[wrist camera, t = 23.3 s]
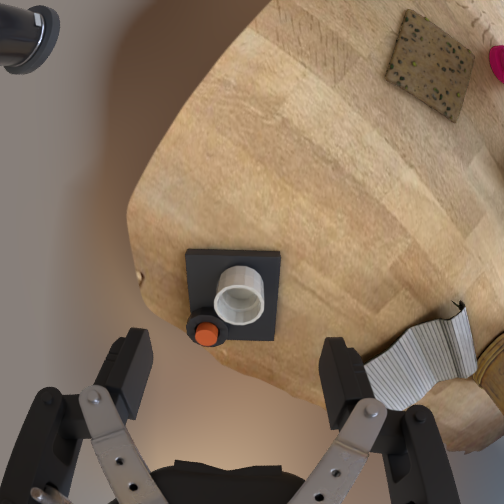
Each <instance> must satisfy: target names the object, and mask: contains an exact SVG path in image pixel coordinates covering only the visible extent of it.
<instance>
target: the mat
mask: <svg viewBox="0 0 504 504" xmlns="http://www.w3.org/2000/svg"><path fill="white" fill-rule="evenodd" d="M452 302H453V301H452ZM453 303H454V302H453ZM454 304H455V305H456V306H457V307H458V308H459V310H461V311H460V312H459V313H458V314H456V315H455V316H453V317H452V318H450V319H441V318H440V319H435V320H431V321H427V322H423V323H420V324H417V325H415V326H413V327H411V328H409V329H407V330H405V331H404V333H403V334H402V335H401V336H400V337H399V338H398V339H397V340H396V341H395V342H394V343H393V344H392V345H391V346H390V347H389V348H388V349H387V350H385V351H384V352H382V353H380V354H378V355H377V356H375V357H373V358H372V359H370V360H369V361H367V362H366V363H364V364H363V366H364V367H365V370H366V373H367V376H368V378H369V381H370V384H371V387H372V390H373V393H374V396H375V398H376V399H377V400H379V401H381V402H382V403H383V404H384V405H385V407H386V408H387V409H391V410H398V411H402V410H404V409H405V408H407V407H409V406H410V405H412V404H414V403H415V402H417V401H419V400H420V399H421V398H422V397H423V396H424V395H425V394H426V393H427V392H428V391H429V390H430V389H431V388H432V387H433V386H434V385H435V384H436V383H437V382H439V381H444V380H448V379H453V378H456V377H459V378H468V377H470V376H471V375H472V374H473V373H475V372H476V370H477V360H476V354H475V349H474V344H473V339H472V334H471V329H470V325H469V321H468V316H467V312H466V307H465V304H464V303H463V302H462V301H461V300H460V301H459V305H457V304H456V303H454Z"/></svg>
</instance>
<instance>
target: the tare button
mask: <svg viewBox="0 0 504 504" xmlns="http://www.w3.org/2000/svg"><path fill="white" fill-rule="evenodd" d="M217 336H218V328H217V327H216V326H215V325H214V324H212V323H210V322H203V323H200V324H199V325H198V327H197V330H196V334H195V339H196V341H197V342H198V343H199V344H201V345H204V346H211V345H214V344H215V343H216V341H217Z"/></svg>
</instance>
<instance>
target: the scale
mask: <svg viewBox="0 0 504 504" xmlns="http://www.w3.org/2000/svg"><path fill="white" fill-rule="evenodd" d="M185 259H186V271H187V282H188V292H189V301H190V311H191V315H190V316H189V318H188V321H187V325H186V330H187V335H188V336H189V337H190V338H191V340H193V342H195V343H197V344H199V343H198V342H197V341H196V339H195V334H196V330H197V327H198V325H199V324H200V323H203V322H210V323H212V324H214V325H215V326H216V327H217V328H218V336H217V341H216V343H215V344H214V345H211V346H205V347H215V346H218V345H221V344H223V343H224V342H225V341H226V340H250V341H274V334H275V323H276V312H277V300H278V288H279V276H280V263H281V255H280V251H251V250H214V249H187V252H186V254H185ZM234 266H247V267H249V268H252V269H254V270H255V271H256V272H257V273H259V274H260V276H261V278H262V280H263V283H264V311H263V313H262V314H261V316H260V317H259V318H258V319H257V320H256V321H254V322H252V323H250V324H246V325H233V324H230V323H228V322H225V321H224V320H223V319H221V318H220V317H219V316H218V315H217V313H216V311H215V309H214V298H215V293H216V289H217V284H218V280H219V278H220V276H221V274H222V273H223V272H224V271H225V270H227V269H228V268H231V267H234ZM199 345H201V344H199ZM201 346H204V345H201Z"/></svg>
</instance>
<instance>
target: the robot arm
mask: <svg viewBox="0 0 504 504" xmlns="http://www.w3.org/2000/svg"><path fill="white" fill-rule="evenodd" d="M45 33H46V20H45V17H44V16H43V15H42V14H41V13H38V12H34V11H33V12H32V11H29V10H25V9H22V8H18V7H14V6H10V5H5V4H1V3H0V66H12V67H19V66H22V65H24V64H26V63H27V62H28V61H30V60H31V59H32V58H33V56H34V55H35V54H36V53H37V51H38V50H39V48H40V46H41V44H42V42H43V39H44V37H45ZM152 364H153V351H152V346H151V342H150V337H149V332H148V330H147V329H141V328H130V330H129V332H128V334H127V336H126V338H124V337H120V338H119V339H118V340H116V341H115V342H114V343H113V344H112V346H111V348H110V351H109V354H108V355H107V357H106V360H105V361H104V363H103V365H102V367H101V370H100V372H99V374H98V376H97V378H96V380H95V383H94V384H93V385H92V386H88V387H87V388H85V389H84V390H82V392H81V393H80V394H75V395H62V394H61V392H60V391H59V390H58V389H57V388H54V387H46V388H43V389H42V390H40V391H39V392H38V393H37V395H36V396H35V399H34V401H33V403H32V405H31V407H30V410H29V412H28V414H27V417H26V419H25V421H24V424H23V426H22V428H21V431H20V433H19V436H18V438H17V440H16V443H15V446H14V448H13V451H12V454H11V457H10V459H9V462H8V465H7V468H6V471H5V474H4V477H3V480H2V483H1V487H0V504H73V503H72V502H71V501H70V500H69V499H68V495H69V491H70V487H71V482H72V478H73V474H74V470H75V466H76V463H77V459H78V455H79V452H80V448H81V445H82V441H83V439H91V438H92V440H91V444H92V446H93V449H94V451H95V454H96V456H97V458H98V461H99V463H100V465H101V468H102V469H103V472H104V474H105V476H106V478H107V480H108V482H109V485H110V487H111V489H112V491H113V493H114V494H115V496H116V498H115V499H114V500H113V501H111V502H110V503H108V504H341V503H342V501H343V500H344V498H345V496H346V495H347V493H348V492H349V490H350V488H351V487H352V485H353V484H354V482H355V480H356V479H357V477H358V475H359V473H360V472H361V470H362V468H363V466H364V464H365V463H366V461H367V459H368V457H369V452H374V453H382V456H383V461H384V466H385V471H386V477H387V482H388V488H389V493H390V499H391V504H461V503H460V499H459V496H458V492H457V488H456V484H455V481H454V477H453V474H452V470H451V467H450V464H449V460H448V457H447V454H446V451H445V448H444V445H443V442H442V439H441V436H440V433H439V430H438V427H437V424H436V422H435V419H434V416H433V414H432V412H431V411H430V410H429V409H428V408H427V407H425V406H423V405H413V406H411V407H409V408H408V409H407V411H398V410H391V409H387V408H386V407H385V405H384V404H383V403H382V402H381V401H379V400H377V399H376V398H375V396H374V393H373V390H372V387H371V384H370V381H369V378H368V376H367V373H366V370H365V367H364V366H363V362H362V359H361V357H360V355H359V354H358V353H357V351H356V350H355V349H354V348H347V347H346V344H345V341H344V339H343V337H326V339H325V341H324V345H323V349H322V352H321V356H320V360H319V375H320V380H321V384H322V389H323V394H324V399H325V403H326V408H327V413H328V418H329V423H330V428H331V430H335V429H339V434H338V436H337V437H336V439H335V440H334V441H333V443H332V444H331V446H330V447H329V449H328V450H327V452H326V453H325V455H324V456H323V458H322V459H321V460H320V462H319V463H318V465H317V466H316V467H315V469H314V470H313V472H312V473H311V474H310V476H309V477H308V478H307V480H306V481H305V480H304V479H302V478H300V477H298V476H296V475H294V474H291V473H287V472H283V471H282V467H281V465H278V466H252V467H246V468H241V469H235V470H228V471H227V470H223V469H219V468H216V467H212V466H209V465H206V464H203V463H198V462H189V461H181V460H175V462H174V466H168V467H163V468H160V469H157V470H155V471H153V472H151V471H150V470H149V468H148V466H147V465H146V463H145V462H144V460H143V458H142V456H141V455H140V453H139V451H138V449H137V447H136V446H135V444H134V442H133V440H132V438H131V436H130V434H129V432H128V430H127V428H126V426H125V425H126V422H127V419H132V420H136V416H137V413H138V409H139V406H140V403H141V399H142V396H143V393H144V389H145V386H146V383H147V380H148V377H149V374H150V371H151V368H152Z"/></svg>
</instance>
